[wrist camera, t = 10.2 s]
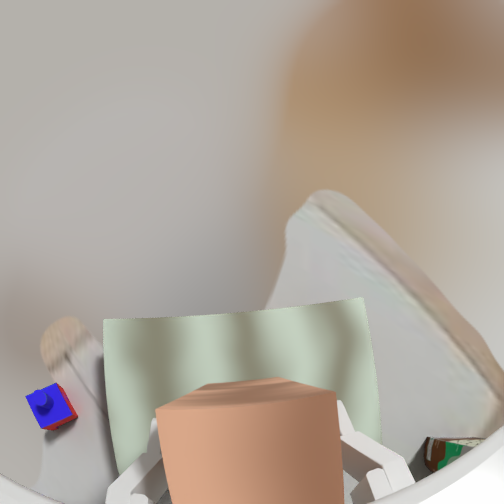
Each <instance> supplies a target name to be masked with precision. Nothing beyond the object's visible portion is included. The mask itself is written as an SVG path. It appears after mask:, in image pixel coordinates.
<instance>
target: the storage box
mask: <svg viewBox="0 0 504 504" xmlns="http://www.w3.org/2000/svg"><path fill="white" fill-rule="evenodd" d="M103 342H104V343H103V347H104V371H105V386H106V397H107V406H108V415H109V422H110V429H111V436H112V442H113V448H114V453H115V458H116V463H117V468H118V472H119V476H120V475H121V474H122V473H123V472H124V471H125V470H126V469H127V468H128V467H129V466H130V465H131V464H132V463H133V462H134V461H135V460H136V459H137V458H138V457H139V456H140V455H141V454H142V453H147V446H148V439H149V433H150V426H151V421H152V419H153V418H156V412H155V409H157V408H159V407H161V406H163V405H165V404H168V403H170V402H172V401H174V400H176V399H178V398H180V397H182V396H184V395H186V394H188V393H190V392H192V391H194V390H196V389H198V388H200V387H202V386H204V385H206V384H209V383H224V382H237V381H247V380H257V379H265V378H273V377H281V378H284V379H288V380H291V381H295V382H299V383H302V384H306V385H310V386H314V387H318V388H322V389H326V390H331V391H335V392H336V398H337V400H341V401H342V403H343V405H344V407H345V409H346V412H347V414H348V416H349V419H350V421H351V423H352V425H353V428H354V430H355V432H357V431H360V432H361V433H363V434H364V435H366V436H368V437H369V438H371V439H373V440H374V441H376V442H378V443H379V444H381V445H382V432H381V417H380V406H379V395H378V386H377V378H376V370H375V363H374V356H373V349H372V343H371V337H370V331H369V325H368V320H367V314H366V309H365V304H364V299H363V297H361V298H354V299H348V300H341V301H334V302H327V303H320V304H312V305H304V306H296V307H288V308H279V309H270V310H260V311H250V312H240V313H227V314H214V315H199V316H183V317H164V318H135V319H103Z"/></svg>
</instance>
